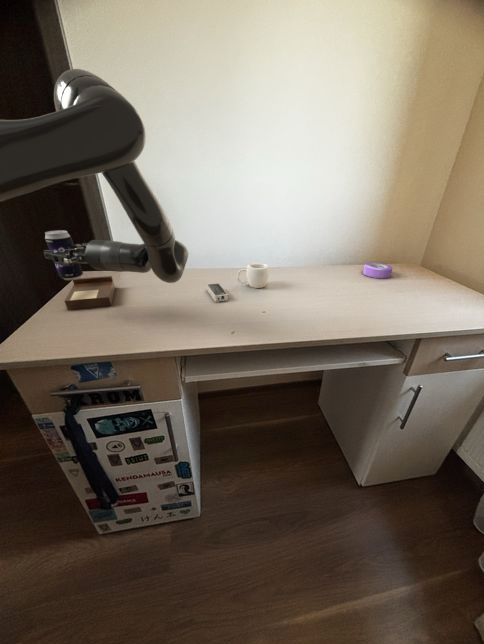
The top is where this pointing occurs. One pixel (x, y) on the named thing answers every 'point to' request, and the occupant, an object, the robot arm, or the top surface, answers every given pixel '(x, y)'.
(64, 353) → the top surface
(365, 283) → the top surface
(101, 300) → the wooden serving tray
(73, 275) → the beverage can
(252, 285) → the mug
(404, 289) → the top surface
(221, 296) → the multiport hub
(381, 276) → the tape roll
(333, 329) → the top surface
